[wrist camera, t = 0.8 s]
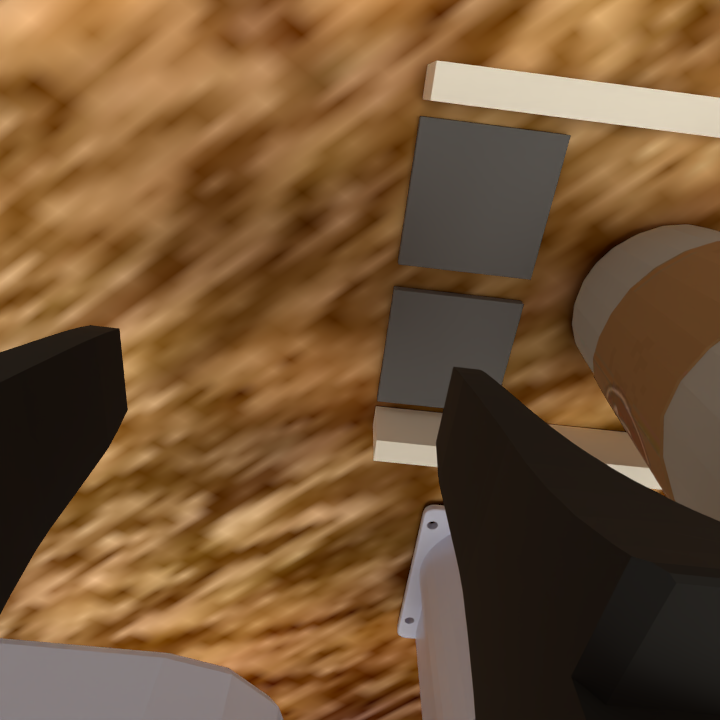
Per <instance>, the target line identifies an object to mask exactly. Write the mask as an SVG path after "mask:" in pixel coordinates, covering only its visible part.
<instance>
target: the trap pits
mask: <svg viewBox="0 0 720 720" xmlns="http://www.w3.org/2000/svg"><path fill="white" fill-rule="evenodd" d="M570 136H571V135H566V134H558V133H550V132H542V131H534V130H526V129H519V128H511V127H503V126H495V125H487V124H479V123H472V122H464V121H456V120H448V119H440V118H432V117H424V116H420V119H419V125H418V132H417V138H416V145H415V151H414V158H413V165H412V171H411V178H410V184H409V191H408V198H407V204H406V211H405V217H404V224H403V231H402V237H401V244H400V250H399V257H398V264H400V265H409V266H417V267H426V268H434V269H443V270H452V271H460V272H469V273H478V274H486V275H495V276H504V277H512V278H521V279H529V280H531V277H532V273H533V269H534V266H535V262H536V259H537V255H538V251H539V248H540V244H541V241H542V237H543V233H544V230H545V226H546V222H547V219H548V215H549V212H550V208H551V204H552V201H553V197H554V194H555V190H556V186H557V183H558V179H559V176H560V172H561V168H562V165H563V161H564V158H565V154H566V150H567V147H568V143H569V139H570ZM523 305H524V304H523V303H522V301H519V300H510V299H501V298H493V297H484V296H475V295H466V294H457V293H449V292H440V291H431V290H422V289H414V288H405V287H396V286H394V290H393V296H392V303H391V310H390V316H389V323H388V329H387V336H386V343H385V349H384V356H383V362H382V369H381V375H380V382H379V389H378V395H377V401H381V402H390V403H400V404H409V405H419V406H428V407H438V408H444V405H445V401H446V396H447V392H448V388H449V383H450V379H451V374H452V370H453V367H462V368H470V369H479V370H482V371H484V372H485V373H487V374H488V375H489V376H490V377H492V378H493V379H494V380H495V381H497V382H498V383H499V384H500V385H502V381H503V378H504V374H505V370H506V367H507V363H508V360H509V356H510V352H511V349H512V345H513V342H514V338H515V334H516V331H517V327H518V324H519V320H520V316H521V313H522V309H523Z"/></svg>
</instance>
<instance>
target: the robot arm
mask: <svg viewBox="0 0 720 720" xmlns="http://www.w3.org/2000/svg"><path fill="white" fill-rule="evenodd" d="M127 410H128V409H127V399H126V389H125V379H124V370H123V360H122V350H121V340H120V330H119V329H118V328H109V327H100V326H91V325H90V326H84V327H79V328H75V329H71V330H68V331H64V332H61V333H58V334H55V335H52V336H48V337H45V338H42V339H39V340H36V341H33V342H30V343H27V344H24V345H21V346H18V347H15V348H12V349H9V350H6V351H3V352H0V614H1V612H2V610H3V608H4V606H5V604H6V602H7V600H8V599H9V597H10V595H11V593H12V591H13V590H14V588H15V586H16V584H17V582H18V581H19V579H20V577H21V575H22V574H23V572H24V570H25V568H26V567H27V565H28V563H29V561H30V560H31V558H32V556H33V554H34V553H35V551H36V549H37V548H38V546H39V545H40V543H41V542H42V540H43V539H44V537H45V536H46V534H47V533H48V531H49V530H50V528H51V527H52V525H53V524H54V523H55V521H56V520H57V519H58V517H59V516H60V514H61V513H62V512H63V510H64V509H65V507H66V506H67V505H68V503H69V502H70V501H71V499H72V498H73V496H74V495H75V494H76V492H77V491H78V490H79V488H80V487H81V485H82V484H83V483H84V481H85V480H86V479H87V477H88V476H89V474H90V473H91V472H92V470H93V469H94V467H95V466H96V465H97V463H98V462H99V460H100V459H101V458H102V456H103V455H104V453H105V452H106V450H107V449H108V447H109V446H110V444H111V442H112V440H113V438H114V436H115V434H116V433H117V431H118V429H119V427H120V425H121V422H122V420H123V418H124V416H125V414H126V412H127ZM436 453H437V466H438V477H439V484H440V489H441V494H442V498H443V503H444V505H429V506H427V507H426V508H425V509H424V511H423V515H422V519H421V523H420V528H419V532H418V537H417V541H416V545H415V550H414V554H413V559H412V563H411V568H410V572H409V576H408V581H407V585H406V590H405V594H404V599H403V603H402V607H401V612H400V616H399V621H398V625H397V629H398V634H399V635H400V636H401V637H405V638H415V639H416V649H417V661H418V672H419V684H420V696H421V707H422V719H423V720H720V521H718V520H715V519H713V518H711V517H708V516H706V515H704V514H701V513H699V512H697V511H694V510H692V509H690V508H688V507H686V506H684V505H682V504H679V503H677V502H675V501H673V500H671V499H669V498H667V497H665V496H663V495H661V494H659V493H657V492H655V491H653V490H651V489H649V488H648V487H646V486H644V485H642V484H640V483H638V482H636V481H634V480H632V479H630V478H629V477H627V476H625V475H623V474H622V473H620V472H618V471H616V470H615V469H613V468H611V467H610V466H608V465H607V464H605V463H603V462H602V461H600V460H599V459H597V458H595V457H594V456H592V455H590V454H589V453H587V452H586V451H584V450H583V449H581V448H580V447H578V446H577V445H575V444H574V443H573V442H571V441H570V440H568V439H567V438H566V437H564V436H563V435H562V434H560V433H559V432H558V431H556V430H555V429H553V428H552V427H551V426H550V425H548V424H547V423H546V422H544V421H543V420H542V419H541V418H539V417H538V416H537V415H536V414H534V413H533V412H532V411H531V410H530V409H528V408H527V407H526V406H525V405H524V404H522V403H521V402H520V401H519V400H518V399H516V398H515V397H514V396H513V395H512V394H511V393H509V392H508V391H507V390H506V389H505V388H504V387H503V386H501V385H500V384H499V383H498V382H497V381H495V380H494V379H493V378H492V377H490V376H489V375H488V374H487V373H485V372H484V371H482V370H479V369H470V368H462V367H453V370H452V374H451V379H450V383H449V388H448V392H447V396H446V401H445V405H444V409H443V414H442V418H441V422H440V427H439V431H438V435H437V440H436ZM432 521H434V522H435V523H429V522H432ZM0 720H283V718H282V715H281V712H280V710H279V707H278V706H277V705H276V703H275V702H274V701H273V700H272V699H271V698H270V697H269V696H268V695H267V694H265V693H264V692H262V691H261V690H259V689H258V688H257V687H255V686H254V685H252V684H251V683H249V682H248V681H246V680H245V679H244V678H242V677H241V676H239V675H238V674H236V673H235V672H234V671H232V670H231V669H229V668H226V667H222V666H218V665H215V664H211V663H207V662H203V661H199V660H195V659H191V658H187V657H183V656H179V655H175V654H171V653H161V652H150V651H139V650H127V649H116V648H105V647H93V646H82V645H70V644H59V643H48V642H36V641H25V640H14V639H2V638H0Z"/></svg>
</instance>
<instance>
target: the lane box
mask: <svg viewBox="0 0 720 720" xmlns="http://www.w3.org/2000/svg"><path fill="white" fill-rule="evenodd" d="M423 99H424V100H430V101H438V102H446V103H454V104H462V105H469V106H477V107H485V108H493V109H500V110H508V111H516V112H524V113H531V114H539V115H547V116H555V117H562V118H570V119H578V120H586V121H593V122H601V123H609V124H617V125H625V126H632V127H640V128H648V129H656V130H663V131H671V132H679V133H687V134H694V135H702V136H710V137H718V138H720V98H717V97H710V96H702V95H694V94H687V93H679V92H672V91H664V90H657V89H649V88H641V87H634V86H626V85H619V84H611V83H603V82H596V81H588V80H581V79H573V78H566V77H558V76H550V75H543V74H535V73H528V72H520V71H513V70H505V69H497V68H490V67H482V66H475V65H467V64H460V63H452V62H444V61H435V62H432V63H430V64H428V66H427V72H426V79H425V86H424V92H423ZM442 414H443V413H438V412H428V411H418V410H409V409H399V408H390V407H380V406H376V408H375V415H374V422H373V461H383V462H393V463H402V464H412V465H422V466H432V467H438V466H437V453H436V440H437V435H438V431H439V427H440V422H441V418H442ZM548 425H550V426H551V427H552V428H553V429H555V430H556V431H558V432H559V433H560V434H562V435H563V436H564V437H566V438H567V439H568V440H570V441H571V442H573V443H574V444H575V445H577V446H578V447H580V448H581V449H583V450H584V451H586V452H587V453H589V454H590V455H592V456H594V457H595V458H597V459H599V460H600V461H602V462H603V463H605V464H607V465H608V466H610V467H611V468H613V469H615V470H616V471H618V472H620V473H622V474H623V475H625V476H627V477H629V478H630V479H632V480H634V481H636V482H638V483H640V484H642V485H644V486H646V487H648V488H651V489H661V490H662V488H661V487H660V485H659V484H658V482H657V480H656V479H655V477H654V475H653V474H652V472H651V471H650V469H649V467H648V466H647V464H646V463H645V461H644V459H643V458H642V456H641V454H640V453H639V451H638V450H637V448H636V446H635V445H634V443H633V441H632V440H631V438H630V437H629V435H628V433H627V432H619V431H609V430H600V429H590V428H581V427H571V426H562V425H552V424H548Z"/></svg>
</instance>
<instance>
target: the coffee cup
mask: <svg viewBox="0 0 720 720" xmlns="http://www.w3.org/2000/svg"><path fill="white" fill-rule="evenodd" d="M572 328H573V333H574V338H575V343H576V345H577V347H578V349H579V350H580V352H581V354H582V356H583V358H584V359H585V361H586V362H587V364H588V366H589V367H590V369H591V370H592V372H593V374H594V378H595V380H596V381H597V383H598V385H599V387H600V389H601V391H602V393H603V394H604V396H605V398H606V399H607V401H608V403H609V404H610V406H611V407H612V409H613V411H614V412H615V414H616V415H617V417H618V419H619V420H620V422H621V424H622V425H623V427H624V428H625V430H626V432H627V433H628V435H629V437H630V438H631V440H632V441H633V443H634V445H635V446H636V448H637V450H638V451H639V453H640V454H641V456H642V458H643V459H644V461H645V463H646V464H647V466H648V467H649V469H650V471H651V472H652V474H653V475H654V477H655V479H656V480H657V482H658V484H659V485H660V487H661V488H662V490H663V492H664V493H665V495H666V497H667V498H669V499H671V500H673V501H675V502H677V503H679V504H682V505H684V506H686V507H688V508H690V509H692V510H694V511H697V512H699V513H701V514H704V515H706V516H708V517H711V518H713V519H715V520H718V521H720V231H716V230H712V229H709V228H704V227H699V226H694V225H689V224H683V225H668V226H661V227H658V228H655V229H651V230H648V231H645V232H642V233H639V234H637V235H635V236H633V237H631V238H629V239H628V240H626V241H624V242H622V243H621V244H619V245H617V246H615V247H614V248H612V249H611V250H610V251H609V252H608V253H607V254H606V255H604V256H603V257H602V258H601V259H600V260H599V261H598V262H597V263H596V264H595V265H594V267H593V268H592V269H591V271H590V272H589V274H588V275H587V276H586V278H585V279H584V281H583V283H582V286H581V288H580V291H579V293H578V296H577V298H576V301H575V304H574V311H573V320H572Z"/></svg>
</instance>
